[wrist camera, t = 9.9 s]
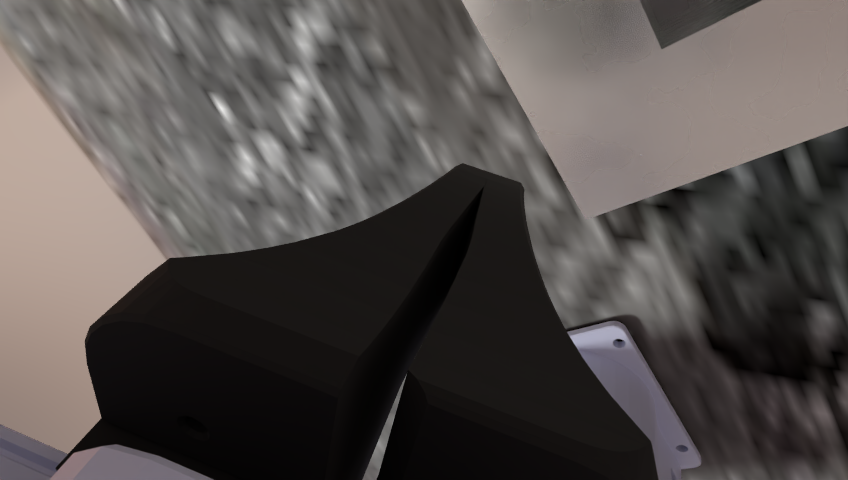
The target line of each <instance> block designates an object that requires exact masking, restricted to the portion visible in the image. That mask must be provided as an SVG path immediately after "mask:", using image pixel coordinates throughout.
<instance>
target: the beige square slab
mask: <svg viewBox="0 0 848 480" xmlns="http://www.w3.org/2000/svg"><path fill="white" fill-rule="evenodd" d="M462 2H463V4H464V5H465V7H466V9H467V11H468V12H469V14H470V16H471V18H472V19H473V21H474V23H475V25H476V27H477V28H478V30H479V32H480V34H481V35H482V37H483V39H484V41H485V42H486V44H487V46H488V48H489V50H490V51H491V53H492V55H493V57H494V58H495V60H496V62H497V64H498V65H499V67H500V69H501V71H502V73H503V74H504V76H505V78H506V80H507V81H508V83H509V85H510V87H511V88H512V90H513V92H514V94H515V96H516V97H517V99H518V101H519V103H520V104H521V106H522V108H523V110H524V111H525V113H526V115H527V117H528V119H529V120H530V122H531V124H532V126H533V127H534V129H535V131H536V133H537V134H538V136H539V138H540V140H541V142H542V143H543V145H544V147H545V149H546V150H547V152H548V154H549V156H550V157H551V159H552V161H553V163H554V164H555V166H556V168H557V170H558V172H559V173H560V175H561V177H562V179H563V180H564V182H565V184H566V186H567V187H568V189H569V191H570V193H571V195H572V196H573V198H574V200H575V202H576V203H577V205H578V207H579V209H580V210H581V212H582V214H583V216H584V218H585V219H589V218H592V217H595V216H597V215H600V214H603V213H606V212H609V211H611V210H614V209H617V208H620V207H623V206H625V205H628V204H631V203H634V202H637V201H639V200H642V199H645V198H648V197H650V196H653V195H656V194H659V193H662V192H664V191H667V190H670V189H673V188H676V187H678V186H681V185H684V184H687V183H690V182H692V181H695V180H698V179H701V178H703V177H706V176H709V175H712V174H715V173H717V172H720V171H723V170H726V169H729V168H731V167H734V166H737V165H740V164H743V163H745V162H748V161H751V160H754V159H756V158H759V157H762V156H765V155H768V154H770V153H773V152H776V151H779V150H782V149H784V148H787V147H790V146H793V145H796V144H798V143H801V142H804V141H807V140H809V139H812V138H815V137H818V136H821V135H823V134H826V133H829V132H832V131H835V130H837V129H840V128H843V127H846V126H848V0H462Z"/></svg>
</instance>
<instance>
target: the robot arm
mask: <svg viewBox="0 0 848 480" xmlns="http://www.w3.org/2000/svg"><path fill="white" fill-rule="evenodd" d="M616 339H621V340H624V341H622V342H618V341H615V340H616ZM421 345H422V346H421ZM85 348H86V358H87V366H88V369H89V373H90V377H91V380H92V384H93V388H94V391H95V395H96V399H97V403H98V406H99V410H100V414H101V417H102V418H101V419H100V420H99V422H98V423H97V424H96V425H95V426H94V427H93V428H92V429H91V430H90V431H89V432H88V433H87V434H86V436H85V437H84V438H83V439H82V440H81V441H80V442H79V443H78V444H77V445H76V446H75V447H74V449H72V451H71V452H70V453H69V454H67V453H64V452H62V451H60V450H57V449H55V448H53V447H51V446H48V445H46V444H44V443H42V442H39V441H37V440H35V439H32V438H30V437H28V436H26V435H23V434H21V433H19V432H16V431H14V430H12V429H10V428H7V427H5V426H3V425H0V480H362V479H363V476H364V474H365V471H366V469H367V467H368V464H369V462H370V459H371V457H372V454H373V452H374V449H375V447H376V444H377V442H378V440H379V437H380V435H381V432H382V430H383V427H384V425H385V422H386V420H387V418H388V415H389V413H390V410H391V408H392V405H393V403H394V401H395V398H396V396H397V393H398V391H399V389H400V386H401V384H402V382H403V380H404V378H405V376H406V374H407V376H406V379H405V383H404V386H403V390H402V393H401V397H400V401H399V404H398V408H397V411H396V415H395V418H394V422H393V426H392V429H391V433H390V436H389V440H388V443H387V447H386V450H385V454H384V458H383V461H382V465H381V468H380V472H379V475H378V478H377V480H682V478H681V469H689V468H696V467H698V466H700V465H701V455H700V453H699V451H698V450H697V448H696V446H695V445H694V443H693V441H692V439H691V438H690V436H689V434H688V433H687V431H686V429H685V427H684V426H683V424H682V422H681V421H680V419H679V417H678V415H677V414H676V412H675V410H674V409H673V407H672V405H671V403H670V402H669V400H668V398H667V397H666V395H665V393H664V391H663V390H662V388H661V386H660V385H659V383H658V381H657V379H656V378H655V376H654V374H653V373H652V371H651V369H650V367H649V366H648V364H647V362H646V361H645V359H644V357H643V355H642V354H641V352H640V350H639V349H638V347H637V345H636V343H635V342H634V340H633V338H632V337H631V335H630V333H629V331H628V330H627V328H626V326H625V325H624V324H622V323H621V322H618V321H608V322H604V323H601V324H597V325H593V326H589V327H585V328H581V329H577V330H573V331H569V332H567V331H566V330H565V328H564V326H563V324H562V322H561V320H560V318H559V316H558V314H557V312H556V310H555V308H554V306H553V304H552V302H551V299H550V297H549V295H548V293H547V290H546V288H545V285H544V282H543V280H542V277H541V274H540V271H539V268H538V265H537V262H536V259H535V256H534V252H533V249H532V244H531V240H530V236H529V232H528V227H527V222H526V215H525V207H524V188H523V186H522V184H521V183H520V182H517V181H514V180H511V179H508V178H505V177H502V176H499V175H496V174H493V173H490V172H487V171H484V170H481V169H478V168H475V167H472V166H469V165H466V164H463V163H462V164H460V165H458V166H456V167H454V168H453V169H452V170H450V171H449V172H448V173H446V174H445V175H444V176H442V177H441V178H439V179H438V180H436V181H435V182H433V183H432V184H430V185H429V186H427V187H426V188H424V189H422V190H421V191H419V192H417V193H416V194H414V195H412V196H411V197H409V198H407V199H406V200H404V201H402V202H400V203H398V204H396V205H394V206H392V207H391V208H389V209H387V210H385V211H383V212H381V213H379V214H377V215H375V216H373V217H370V218H368V219H366V220H364V221H361V222H359V223H356V224H354V225H351V226H348V227H346V228H343V229H340V230H337V231H334V232H330V233H327V234H323V235H320V236H316V237H312V238H309V239H305V240H301V241H298V242H294V243H289V244H284V245H279V246H274V247H269V248H263V249H257V250H251V251H244V252H237V253H229V254H217V255H206V256H194V257H182V258H169V259H168V260H167V261H166V262H164V263H163V264H162V265H160V266H159V267H158V268H157V269H155V270H154V271H152V272H151V273H150V274H149V275H147V276H146V277H145V278H144V279H143V280H142V281H140V282H139V283H138V284H137V285H136V286H135V287H134V288H133V289H132V290H130V291H129V292H128V293H127V294H126V295H125V296H124V297H123V298H121V299H120V300H119V301H118V302H117V303H116V304H115V305H114V306H112V307H111V308H110V309H109V310H108V311H107V312H106V313H105V314H104V315H102V316H101V317H100V318H99V319H98V320H97V321H96V322H95V323H93V324H92V325H91V326H90V328H89V331H88V333H87V337H86V339H85ZM414 358H415V359H414Z"/></svg>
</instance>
